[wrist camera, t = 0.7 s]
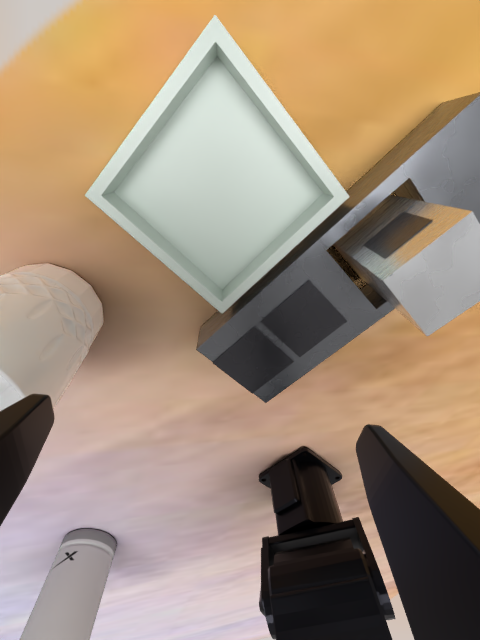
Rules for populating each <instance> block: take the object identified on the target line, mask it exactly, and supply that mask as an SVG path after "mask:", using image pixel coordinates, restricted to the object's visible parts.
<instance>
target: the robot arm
mask: <svg viewBox="0 0 480 640" xmlns="http://www.w3.org/2000/svg"><path fill="white" fill-rule="evenodd" d="M53 423H54V412H53V406H52V401H51V397H50V396H49V395H46V394H31V395H28V396H27V397H25V398H23V399H21V400H19V401H18V402H16V403H14V404H12V405H10V406H8V407H7V408H5V409H3V410H1V411H0V526H1V524H2V523H3V521H4V519H5V517H6V516H7V514H8V512H9V511H10V509H11V507H12V506H13V504H14V502H15V501H16V499H17V497H18V495H19V494H20V492H21V490H22V489H23V487H24V485H25V483H26V481H27V479H28V477H29V475H30V473H31V471H32V469H33V467H34V465H35V463H36V460H37V458H38V456H39V454H40V452H41V450H42V447H43V445H44V443H45V441H46V439H47V437H48V435H49V432H50V430H51V428H52V426H53ZM356 453H357V457H358V461H359V465H360V470H361V474H362V478H363V482H364V487H365V491H366V495H367V499H368V503H369V506H370V509H371V512H372V515H373V518H374V521H375V524H376V527H377V530H378V533H379V536H380V539H381V542H382V545H383V548H384V551H385V554H386V557H387V560H388V562H389V565H390V568H391V571H392V574H393V577H394V580H395V583H396V586H397V589H398V592H399V595H400V598H401V601H402V604H403V607H404V610H405V613H406V616H407V618H408V622H409V624H410V628H411V631H412V634H413V636H414V639H415V640H480V509H479V508H477V507H476V506H475V505H474V504H473V503H472V502H470V501H469V500H468V499H467V498H466V497H464V496H463V495H462V494H461V493H460V492H458V491H457V490H456V489H455V488H454V487H453V486H451V485H450V484H449V483H448V482H447V481H445V480H444V479H443V478H442V477H441V476H439V475H438V474H437V473H436V472H435V471H434V470H432V469H431V468H430V467H429V466H428V465H426V464H425V463H424V462H423V461H422V460H421V459H419V458H418V457H417V456H416V455H415V454H413V453H412V452H411V451H410V450H409V449H407V448H406V447H405V446H404V445H403V444H402V443H400V442H399V441H398V440H397V439H396V438H394V437H393V436H392V435H391V434H390V433H388V432H387V431H386V430H385V429H384V428H382V427H381V426H379V425H369V424H368V425H366V426H365V427H364V428H363V430H362V432H361V434H360V436H359V438H358V440H357V443H356ZM341 479H342V475H341V473H340V472H339V471H338V470H336V469H335V468H334V467H332V466H331V465H330V464H328V463H327V462H326V461H324V460H323V459H322V458H320V457H319V456H318V455H316V454H315V453H314V452H312V451H311V450H310V449H308V448H305V447H304V448H301V449H299V450H298V451H296V452H295V453H293V454H292V455H290V456H288V457H287V458H285V459H284V460H282V461H281V462H279V463H277V464H276V465H274V466H273V467H271V468H270V469H268V470H266V471H265V472H263V473H262V474H260V475H259V482H261V483H262V484H264V485H265V486H267V487H269V488H270V489H271V494H272V502H273V509H274V513H275V514H276V521H277V529H278V536H273V537H263V538H262V548H261V591H260V600H259V607H260V611H261V612H262V614H263V615H264V616H265V617H266V621H267V624H268V628H269V631H270V634H271V636H272V638H273V639H276V640H392V637H391V634H390V631H389V628H388V626H387V622H386V620H392V619H395V615H394V611H393V608H392V605H391V602H390V599H389V596H388V593H387V590H386V587H385V584H384V581H383V579H382V576H381V573H380V571H379V568H378V565H377V563H376V560H375V558H374V555H373V553H372V550H371V547H370V545H369V542H368V540H367V537H366V535H365V532H364V530H363V527H362V525H361V522H360V519H359V517H356V518H352V519H353V520H348V521H344V522H343V520H342V517H341V513H340V510H339V507H338V504H337V501H336V498H335V495H334V492H333V488H332V484H334V483H336V482H338V481H339V480H341Z"/></svg>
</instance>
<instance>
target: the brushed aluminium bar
mask: <svg viewBox="0 0 480 640" xmlns="http://www.w3.org/2000/svg"><path fill="white" fill-rule="evenodd" d="M333 246H334V247H335V248H336V249H337V250H338V252H339V253H340V254H341V255H342V256H343V258H344V259H345V260H346V261H347V263H348V264H349V265H350V266H351V267H352V269H353V270H354V271H355V272H356V273H357V275H358V276H359V277H360V278H361V279H362V280H363V281H364V282H365V283H367V284H368V285H369V286H370V287H371V288H372V289H373V290H375V291H376V292H377V293H378V294H379V295H380V296H381V297H383V298H384V299H385V300H386V301H387V302H388V303H389V304H391V305H392V306H393V307H394V308H395V309H396V310H397V311H399V312H400V313H401V314H402V315H403V316H404V317H405V318H407V319H408V320H409V321H410V322H411V323H412V324H414V325H415V326H416V327H417V328H418V329H419V330H420V331H422V332H423V333H424V334H425V335H426V336H429V335H430V334H432V333H433V332H435V331H436V330H438V329H439V328H441V327H442V326H444V325H445V324H447V323H448V322H450V321H451V320H452V319H454V318H455V317H457V316H458V315H460V314H461V313H463V312H464V311H466V310H467V309H469V308H470V307H472V306H473V305H475V304H476V303H478V302H479V301H480V224H479V222H478V220H477V218H476V217H475V215H474V213H473V211H469V210H464V209H459V208H454V207H449V206H444V205H439V204H434V203H429V202H424V201H419V200H414V199H409V198H403V197H398V196H393V195H389V196H388V197H387V198H385V199H384V200H383V201H382V202H381V203H380V204H379V205H377V206H376V207H375V208H374V209H373V210H372V211H371V212H369V213H368V214H367V215H366V216H365V217H364V218H363V219H361V220H360V221H359V222H358V223H357V224H356V225H355V226H353V227H352V228H351V229H350V230H349V231H348V232H347V233H345V234H344V235H343V236H342V237H341V238H340V239H339V240H337V241H336V242H335V243H334V244H333Z"/></svg>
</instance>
